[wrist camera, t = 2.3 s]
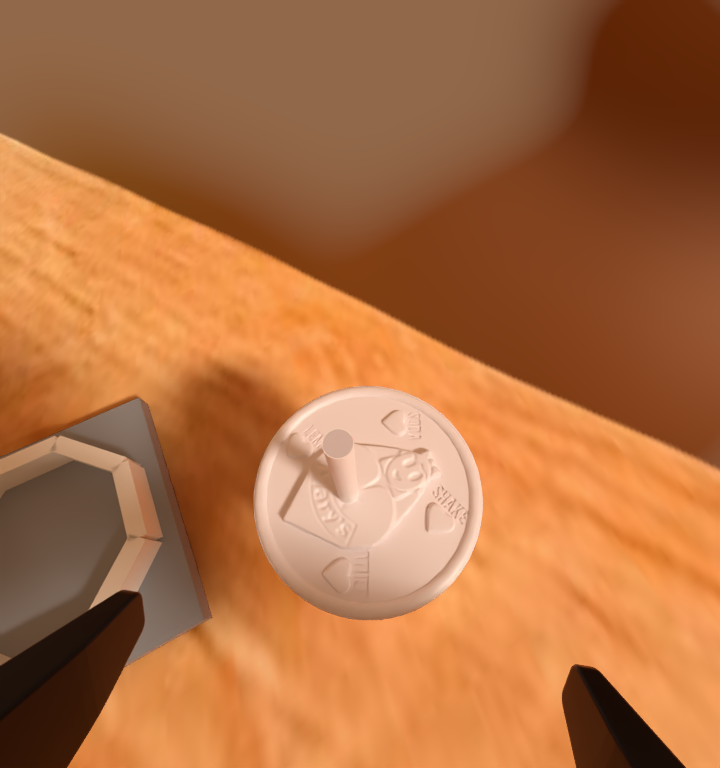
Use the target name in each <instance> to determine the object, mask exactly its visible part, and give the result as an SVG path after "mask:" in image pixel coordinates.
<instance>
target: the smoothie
mask: <svg viewBox="0 0 720 768" xmlns="http://www.w3.org/2000/svg"><path fill="white" fill-rule="evenodd" d="M482 510H483V497H482V487H481V481H480V476H479V472H478V469H477V466H476V463H475V460H474V458H473V456H472V453H471V451H470V449H469V447H468V446H467V444H466V442H465V440H464V439H463V437H462V436H461V435H460V433H459V432H458V430H457V429H456V428H455V427H454V426H453V424H452V423H451V422H450V421H449V420H448V419H447V418H446V417H445V416H444V415H443V414H441V413H440V412H439V411H438V410H436V409H435V408H434V407H432V406H431V405H429V404H428V403H426V402H424V401H423V400H421V399H419V398H417V397H415V396H412V395H410V394H408V393H405V392H402V391H399V390H395V389H391V388H385V387H377V386H358V387H349V388H344V389H340V390H336V391H333V392H330V393H327V394H325V395H322V396H320V397H318V398H316V399H314V400H312V401H311V402H309V403H307V404H306V405H304V406H303V407H302V408H300V409H299V410H298V411H296V412H295V413H294V414H293V415H292V416H291V417H289V418H288V419H287V421H286V422H285V423H284V424H283V425H282V426H281V427H280V428H279V430H278V431H277V432H276V434H275V435H274V437H273V438H272V440H271V441H270V443H269V445H268V447H267V449H266V451H265V452H264V455H263V457H262V460H261V462H260V465H259V469H258V472H257V476H256V481H255V488H254V518H255V523H256V529H257V533H258V536H259V540H260V543H261V545H262V548H263V550H264V553H265V554H266V556H267V558H268V560H269V562H270V564H271V565H272V567H273V568H274V570H275V571H276V573H277V574H278V575H279V577H280V578H281V579H282V580H283V581H284V583H285V584H286V585H287V586H288V587H289V588H290V589H291V590H292V591H293V592H295V593H296V594H297V595H298V596H300V597H301V598H302V599H304V600H305V601H307V602H308V603H310V604H312V605H313V606H315V607H317V608H319V609H321V610H323V611H325V612H328V613H331V614H334V615H337V616H340V617H345V618H348V619H357V620H383V619H389V618H393V617H397V616H401V615H404V614H407V613H410V612H412V611H415V610H417V609H419V608H421V607H422V606H424V605H426V604H428V603H429V602H431V601H432V600H434V599H435V598H437V597H438V596H439V595H440V594H441V593H443V592H444V591H445V590H446V589H447V588H448V587H449V586H450V585H451V584H452V583H453V582H454V581H455V579H456V578H457V577H458V576H459V574H460V573H461V572H462V570H463V569H464V567H465V565H466V564H467V562H468V560H469V558H470V556H471V554H472V552H473V550H474V547H475V545H476V542H477V539H478V535H479V531H480V527H481V521H482Z"/></svg>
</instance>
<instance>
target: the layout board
mask: <svg viewBox="0 0 720 768" xmlns="http://www.w3.org/2000/svg"><path fill="white" fill-rule="evenodd" d="M121 590H130V591H136V592H140V594H141V595H142V599H143V607H144V615H145V625H144V628H143V631H142V633H141V635H140V637H139V639H138V641H137V643H136V645H135V647H134V649H133V651H132V653H131V655H130V657H129V659H128V661H127V663H126V665H125V666H127V665H129V664H131V663H133V662H134V661H136V660H138V659H140V658H141V657H143V656H145V655H147V654H148V653H150V652H152V651H154V650H155V649H157V648H159V647H161V646H163V645H164V644H166V643H168V642H170V641H171V640H173V639H175V638H177V637H178V636H180V635H182V634H184V633H185V632H187V631H189V630H191V629H193V628H194V627H196V626H198V625H200V624H201V623H203V622H205V621H207V620H208V619H210V618H212V615H211V612H210V609H209V605H208V602H207V599H206V595H205V592H204V589H203V586H202V582H201V579H200V576H199V572H198V569H197V566H196V562H195V559H194V556H193V552H192V549H191V546H190V542H189V539H188V536H187V532H186V529H185V526H184V523H183V519H182V516H181V513H180V509H179V506H178V503H177V499H176V496H175V493H174V489H173V486H172V483H171V479H170V476H169V473H168V469H167V466H166V463H165V459H164V456H163V453H162V450H161V446H160V443H159V440H158V436H157V433H156V430H155V426H154V423H153V420H152V416H151V413H150V410H149V406H148V404H146V403H145V402H144V401H143V400H141V399H140V398H137V399H134V400H132V401H130V402H127V403H125V404H123V405H120V406H118V407H116V408H113V409H111V410H109V411H106V412H104V413H102V414H99V415H97V416H95V417H92V418H90V419H88V420H86V421H83V422H81V423H79V424H76V425H74V426H72V427H69V428H67V429H65V430H62V431H60V432H58V433H55V434H53V435H51V436H48V437H46V438H44V439H41V440H39V441H37V442H34V443H32V444H30V445H27V446H25V447H23V448H21V449H18V450H16V451H14V452H11V453H9V454H7V455H4V456H2V457H0V665H2V664H3V663H5V662H6V661H8V660H10V659H11V658H13V657H14V656H16V655H18V654H19V653H21V652H22V651H24V650H26V649H27V648H29V647H30V646H32V645H34V644H35V643H37V642H38V641H40V640H41V639H43V638H45V637H46V636H48V635H49V634H51V633H53V632H54V631H56V630H57V629H59V628H61V627H62V626H64V625H65V624H67V623H69V622H70V621H72V620H73V619H75V618H77V617H78V616H80V615H81V614H83V613H84V612H86V611H88V610H89V609H91V608H92V607H94V606H96V605H97V604H99V603H100V602H102V601H104V600H105V599H107V598H108V597H110V596H112V595H113V594H115V593H116V592H118V591H121ZM125 666H124V667H125Z"/></svg>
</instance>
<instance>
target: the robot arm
mask: <svg viewBox="0 0 720 768" xmlns="http://www.w3.org/2000/svg"><path fill="white" fill-rule="evenodd" d="M144 625H145V615H144V607H143V599H142V595H141V594H140V592H136V591H130V590H121V591H118V592H116V593H115V594H113V595H112V596H110V597H108V598H107V599H105V600H104V601H102V602H100V603H99V604H97V605H96V606H94V607H92V608H91V609H89V610H88V611H86V612H84V613H83V614H81V615H80V616H78V617H77V618H75V619H73V620H72V621H70V622H69V623H67V624H65V625H64V626H62V627H61V628H59V629H57V630H56V631H54V632H53V633H51V634H49V635H48V636H46V637H45V638H43V639H41V640H40V641H38V642H37V643H35V644H34V645H32V646H30V647H29V648H27V649H26V650H24V651H22V652H21V653H19V654H18V655H16V656H14V657H13V658H11V659H10V660H8V661H6V662H5V663H3V664H2V665H0V768H67V767H68V765H69V764H70V762H71V760H72V759H73V757H74V756H75V754H76V752H77V751H78V749H79V748H80V746H81V744H82V743H83V741H84V739H85V738H86V736H87V735H88V733H89V731H90V730H91V728H92V726H93V725H94V723H95V721H96V720H97V718H98V716H99V714H100V713H101V711H102V709H103V707H104V705H105V703H106V702H107V700H108V698H109V696H110V694H111V692H112V690H113V688H114V686H115V684H116V682H117V680H118V678H119V676H120V674H121V672H122V670H123V668H124V666H125V665H126V663H127V661H128V659H129V657H130V655H131V653H132V651H133V649H134V647H135V645H136V643H137V641H138V639H139V637H140V635H141V633H142V631H143V628H144ZM562 704H563V709H564V714H565V718H566V723H567V727H568V732H569V737H570V741H571V746H572V750H573V755H574V759H575V764H576V768H686V767H685V766H684V765H683V764H682V763H681V762H680V760H679V759H678V758H677V757H676V756H675V755H674V754H673V753H672V751H671V750H670V749H669V748H668V747H667V746H666V745H665V744H664V743H663V741H662V740H661V739H660V738H659V737H658V736H657V735H656V734H655V733H654V731H653V730H652V729H651V728H650V727H649V726H648V725H647V724H646V722H645V721H644V720H643V719H642V718H641V717H640V716H639V715H638V714H637V712H636V711H635V710H634V709H633V708H632V707H631V706H630V705H629V703H628V702H627V701H626V700H625V699H624V698H623V697H622V696H621V695H620V693H619V692H618V691H617V690H616V689H615V688H614V687H613V686H612V685H611V683H610V682H609V681H608V680H607V679H606V678H605V677H604V676H603V674H602V673H601V672H600V671H598V670H597V669H596V668H594V667H590V666H584V665H578V664H575V665H573V666H572V667H571V670H570V672H569V675H568V678H567V680H566V683H565V686H564V689H563V692H562Z"/></svg>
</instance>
